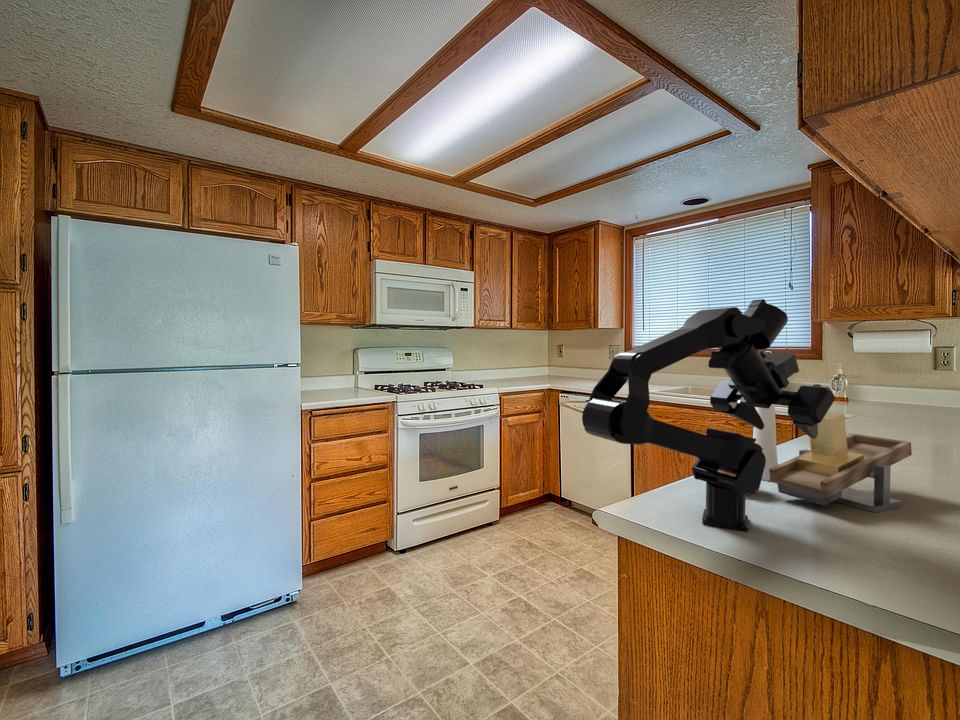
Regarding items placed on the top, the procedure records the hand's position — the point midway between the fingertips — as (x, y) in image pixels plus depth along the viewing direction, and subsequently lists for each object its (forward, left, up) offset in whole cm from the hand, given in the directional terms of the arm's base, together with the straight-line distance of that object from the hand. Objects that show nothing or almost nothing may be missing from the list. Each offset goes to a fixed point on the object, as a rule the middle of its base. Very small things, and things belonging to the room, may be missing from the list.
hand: (787, 432), depth 82 cm
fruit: (+8, +7, -14) cm, 18 cm away
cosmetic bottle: (+21, +2, -14) cm, 25 cm away
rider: (+10, -8, -8) cm, 15 cm away
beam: (+12, -10, -10) cm, 19 cm away
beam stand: (+12, -10, -14) cm, 21 cm away
